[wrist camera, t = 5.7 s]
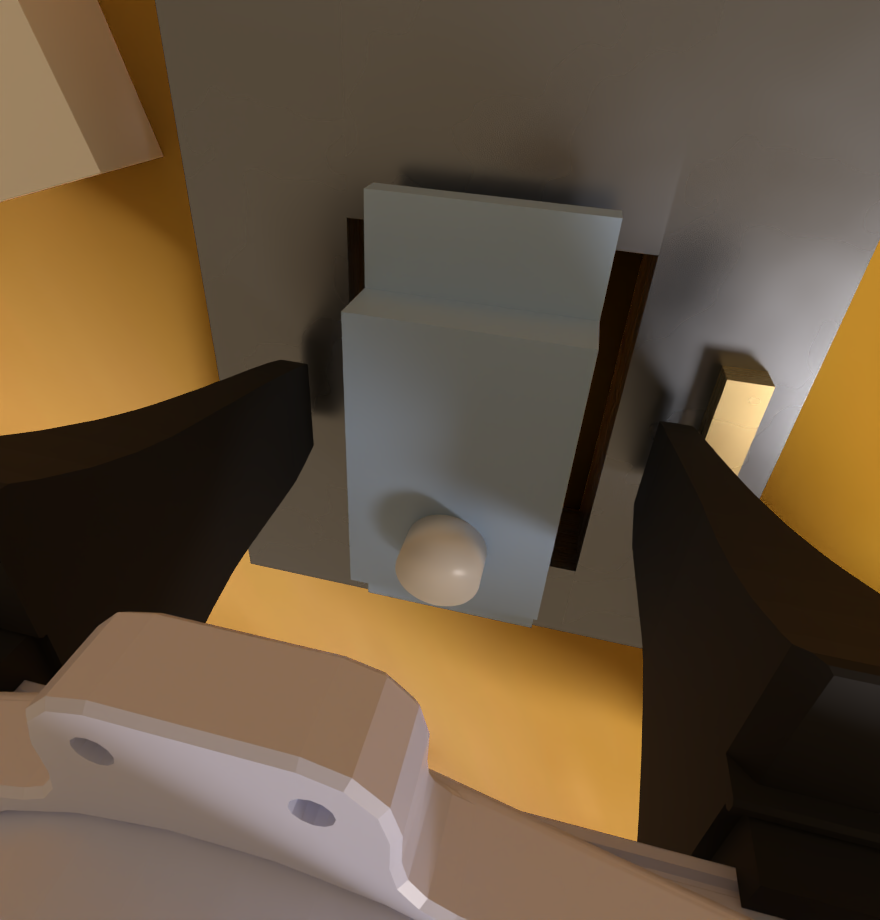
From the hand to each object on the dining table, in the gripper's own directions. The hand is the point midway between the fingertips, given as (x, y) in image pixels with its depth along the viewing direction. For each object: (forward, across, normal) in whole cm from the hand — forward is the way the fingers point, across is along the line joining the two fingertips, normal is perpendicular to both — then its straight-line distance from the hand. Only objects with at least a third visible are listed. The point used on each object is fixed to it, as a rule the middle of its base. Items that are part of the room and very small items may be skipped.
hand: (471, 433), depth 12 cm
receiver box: (+3, +11, -5) cm, 13 cm away
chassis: (+3, 0, -1) cm, 3 cm away
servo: (+3, 0, 0) cm, 3 cm away
